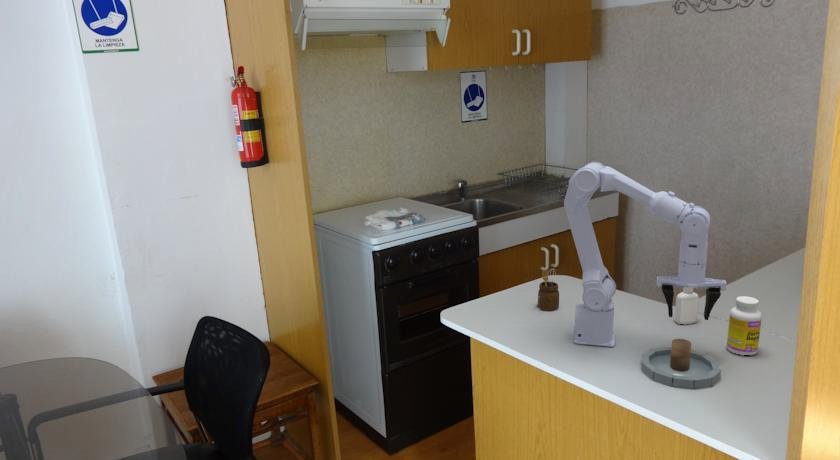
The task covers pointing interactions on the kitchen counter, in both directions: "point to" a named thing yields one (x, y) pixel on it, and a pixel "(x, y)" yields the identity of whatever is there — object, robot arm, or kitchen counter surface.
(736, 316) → the supplement bottle
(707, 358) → the slate dish
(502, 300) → the kitchen counter surface
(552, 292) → the utensil holder
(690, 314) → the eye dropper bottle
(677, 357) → the walnut cylinder
